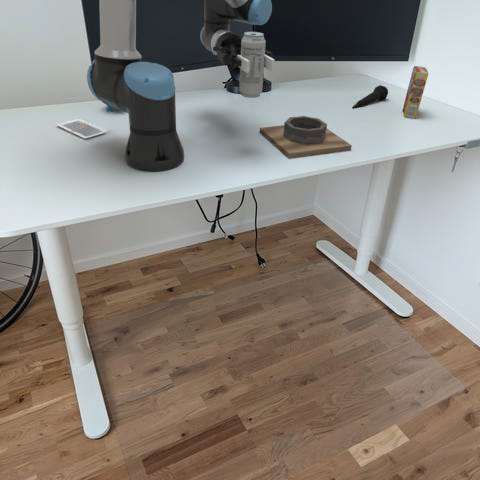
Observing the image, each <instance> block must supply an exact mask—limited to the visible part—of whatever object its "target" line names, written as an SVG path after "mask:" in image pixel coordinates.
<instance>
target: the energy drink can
mask: <svg viewBox="0 0 480 480" xmlns="http://www.w3.org/2000/svg"><path fill="white" fill-rule="evenodd" d="M264 36H265V35H264V33H262V32H258V31H246V32H244V33H243V37H242V38H241V39H242V40H241V56H242V57H244V58H246V59H247V60H249V61H250V66H249V73H246V72H245V71H243V70H242V69H240V68H239V86H238V87H239V88H238V89H239V93H240V94H241V96H242V97H244V98H249V99H254V98H259V97H260V96H261V94H262V93H263V86H264V85H263V83H264V73H265V71H264V69H265V67H264V58H265V50H266V44H267V43H266V41H267V40H266V39H265V37H264Z"/></svg>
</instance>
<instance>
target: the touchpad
mask: <svg viewBox="0 0 480 480" xmlns="http://www.w3.org/2000/svg"><path fill="white" fill-rule="evenodd" d="M56 126H57V127H60V128H62V129H63V130H66V131H68V132H70V133H72V134H74V135H77V136H78V137H80V138H83V139H84V140H85V139H88V138H91V137H92V138H93V137H96V136H98V135H99V136H100V135H101V134H105V133H108V132H109V131H108V130H106V129H104V128H101V127H99V126H97V125H95V124H93V123H90V122H89V121H88V122H87V121H86V120H83V119H81V118H76V119H73V120H72V119H71V120H69V121H64V122H61V123H58V124H56Z"/></svg>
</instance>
